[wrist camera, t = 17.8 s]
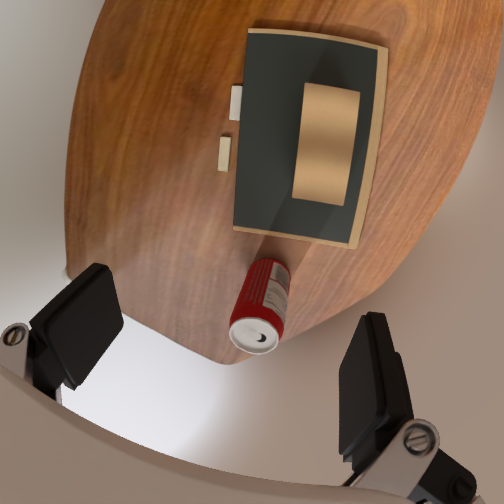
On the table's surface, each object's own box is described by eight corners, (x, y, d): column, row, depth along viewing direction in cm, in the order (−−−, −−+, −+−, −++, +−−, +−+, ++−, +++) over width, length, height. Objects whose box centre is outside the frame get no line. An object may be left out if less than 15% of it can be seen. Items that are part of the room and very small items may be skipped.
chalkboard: (250, 30, 23) (248, 28, 22) (386, 50, 21) (388, 48, 20) (234, 227, 34) (232, 230, 33) (355, 246, 32) (356, 249, 32)
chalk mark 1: (230, 137, 29) (231, 137, 29) (220, 136, 29) (221, 136, 30) (227, 171, 31) (228, 171, 31) (217, 170, 31) (218, 169, 31)
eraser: (304, 87, 25) (304, 82, 21) (352, 95, 24) (360, 91, 20) (293, 186, 30) (291, 197, 26) (338, 193, 29) (343, 206, 25)
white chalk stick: (232, 86, 27) (231, 85, 26) (243, 86, 27) (242, 85, 26) (230, 119, 29) (229, 119, 28) (240, 120, 28) (239, 120, 28)
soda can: (242, 281, 38) (218, 344, 27) (258, 249, 35) (236, 309, 25) (279, 298, 38) (267, 364, 27) (298, 267, 35) (291, 332, 25)
